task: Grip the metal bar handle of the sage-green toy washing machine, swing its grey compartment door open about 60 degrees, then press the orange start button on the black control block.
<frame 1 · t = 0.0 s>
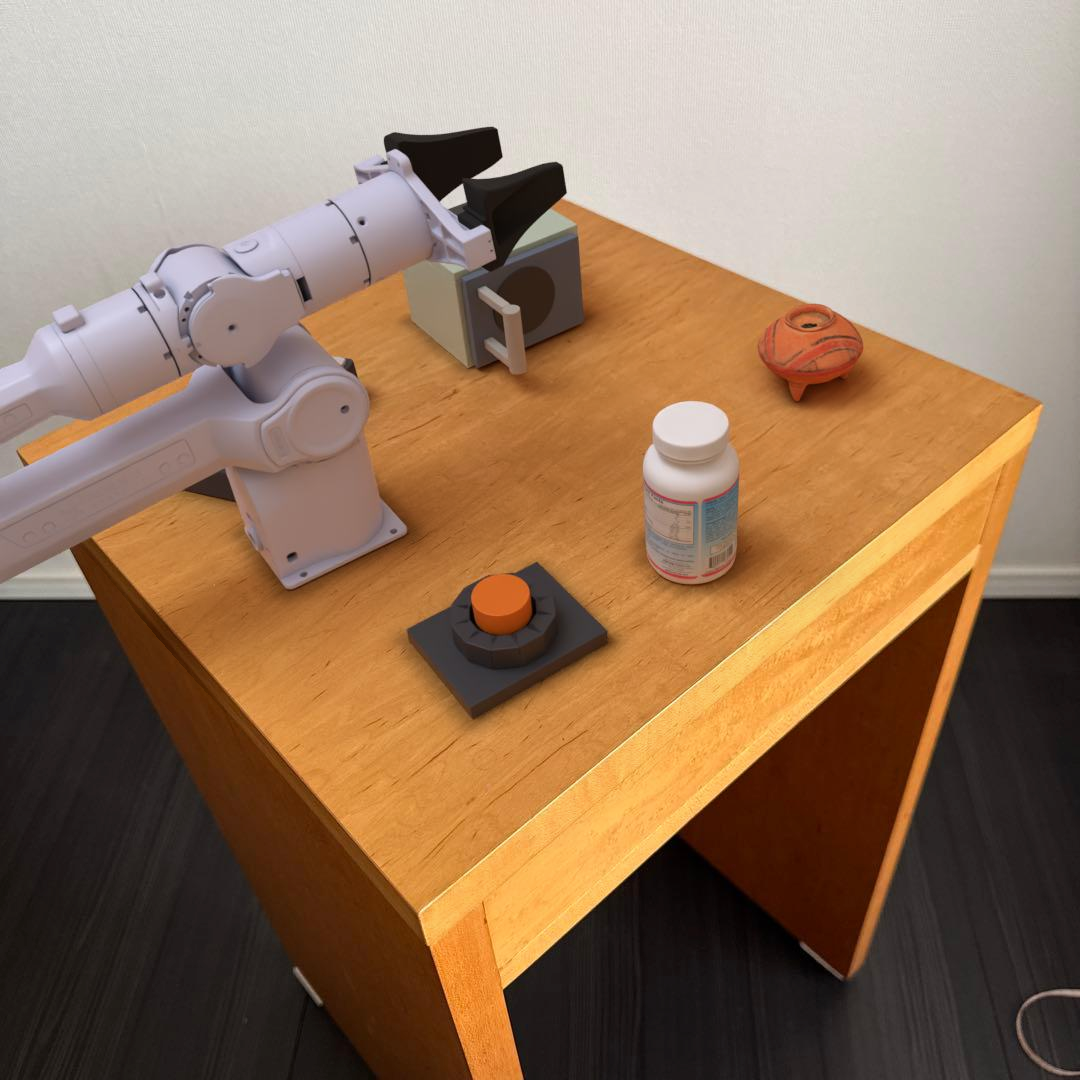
hand: (528, 159, 73), 22 cm above the table, tool horizontal, fingers open, 7 cm apart
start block: (507, 642, 71), on the table
washer: (496, 319, 100), on the table
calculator: (260, 440, 90), on the table
start button: (501, 604, 69), point 3 cm above the table, slide at 0.1 cm
pot: (806, 383, 89), on the table
washer door: (542, 313, 92), point 4 cm above the table, hinge at 0.0°
pill bottle: (690, 558, 76), on the table
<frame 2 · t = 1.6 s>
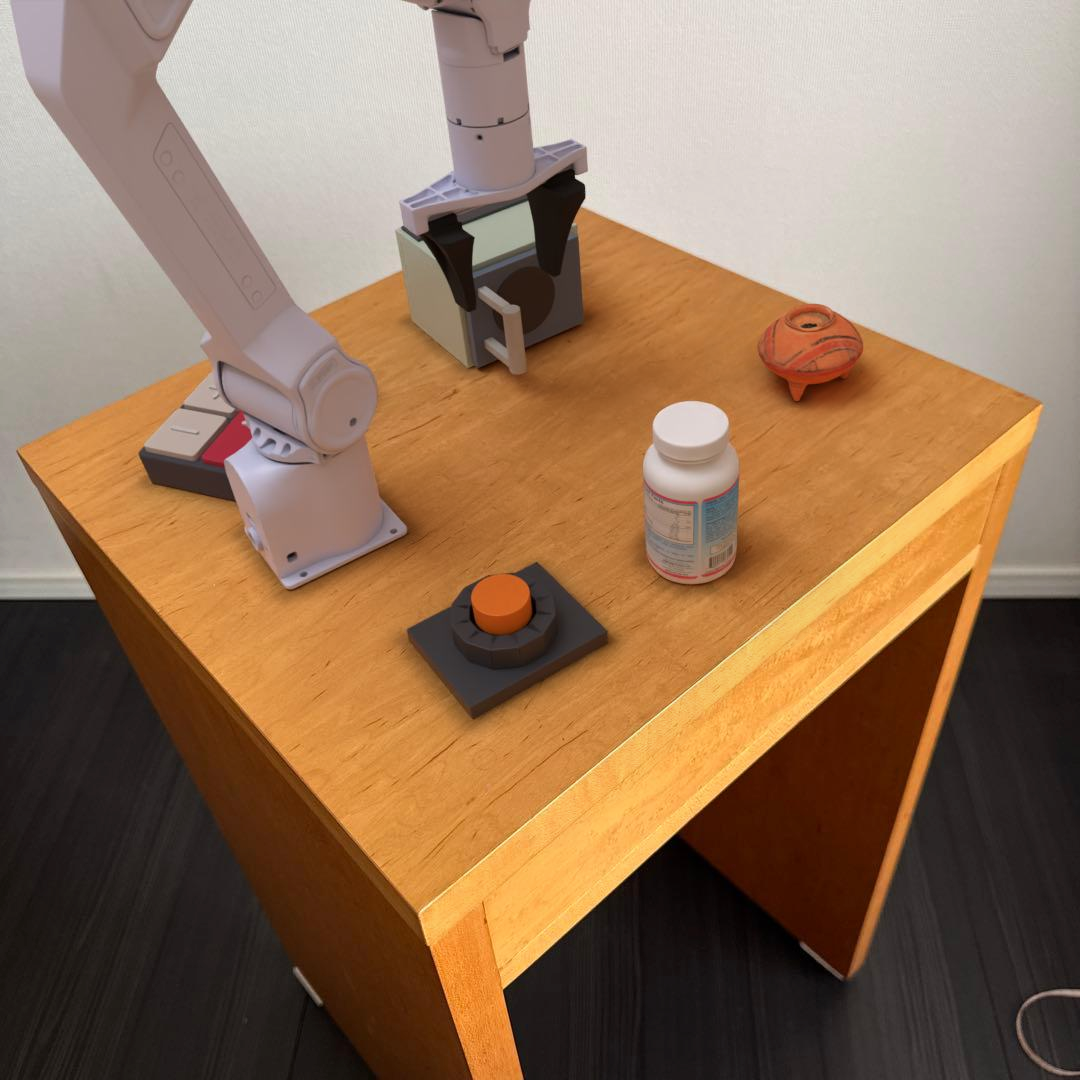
hand: (508, 288, 85), 9 cm above the table, tool pointing down, fingers open, 7 cm apart
nothing on the table moved.
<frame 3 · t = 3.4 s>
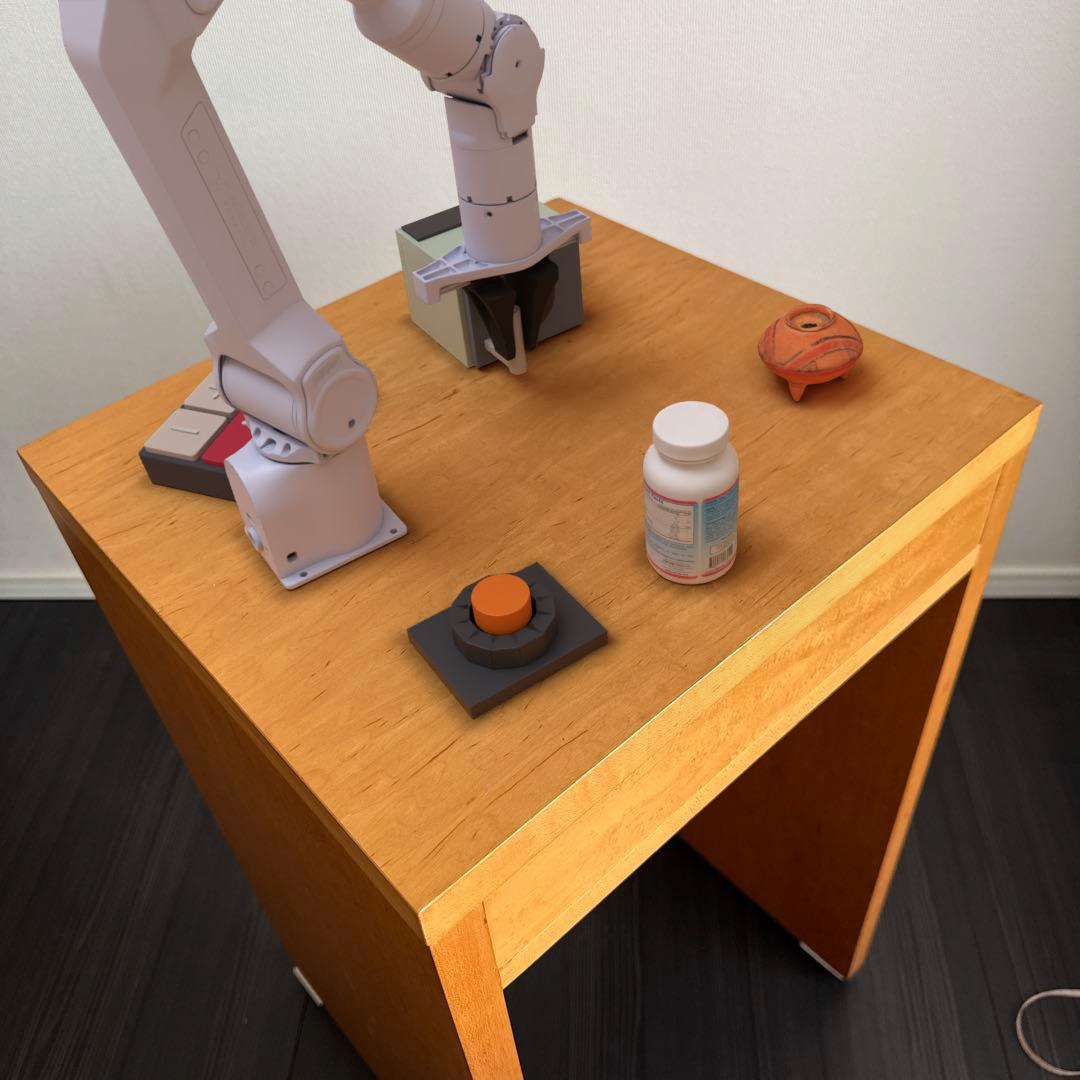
hand: (515, 349, 89), 4 cm above the table, tool pointing down, fingers closed on washer door
washer door: (542, 313, 92), point 4 cm above the table, hinge at 0.0°, touching gripper
everything else where it was.
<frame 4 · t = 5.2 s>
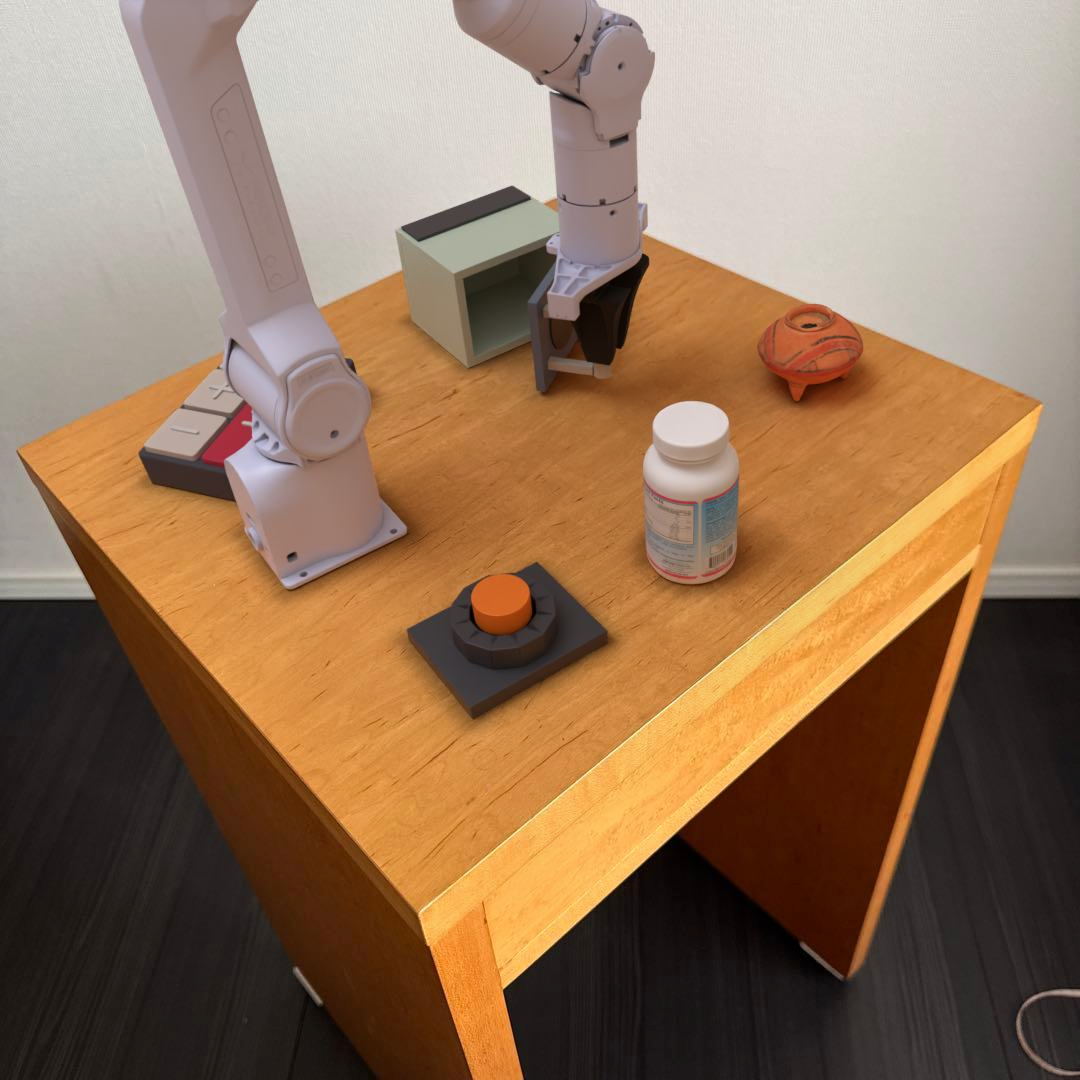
hand: (605, 353, 88), 4 cm above the table, tool pointing down, fingers closed
washer door: (590, 316, 91), point 5 cm above the table, hinge at 36.2°, touching gripper
everything else where it was.
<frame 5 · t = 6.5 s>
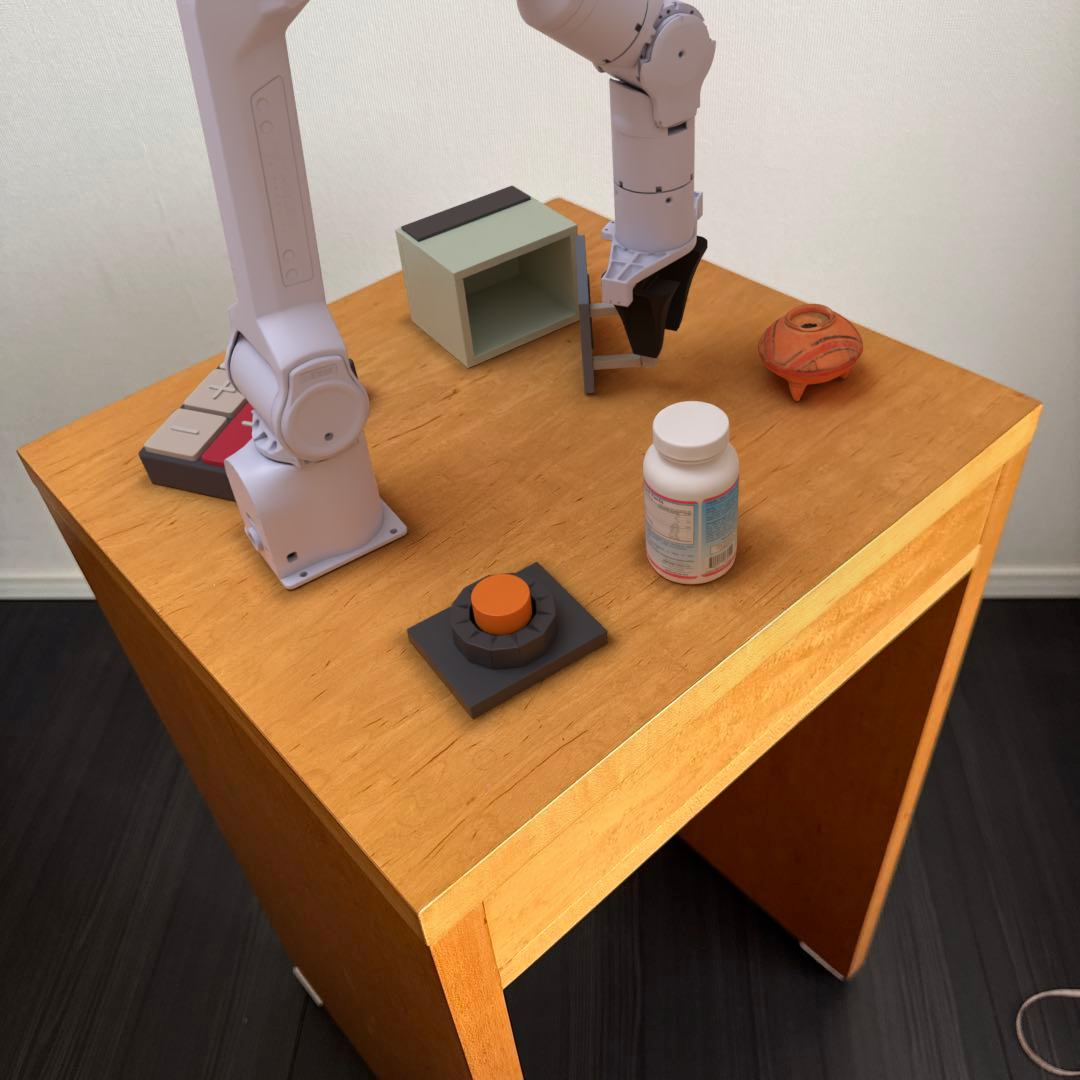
hand: (656, 340, 88), 4 cm above the table, tool pointing down, fingers open, 3 cm apart
washer door: (616, 310, 91), point 5 cm above the table, hinge at 56.4°
everything else where it was.
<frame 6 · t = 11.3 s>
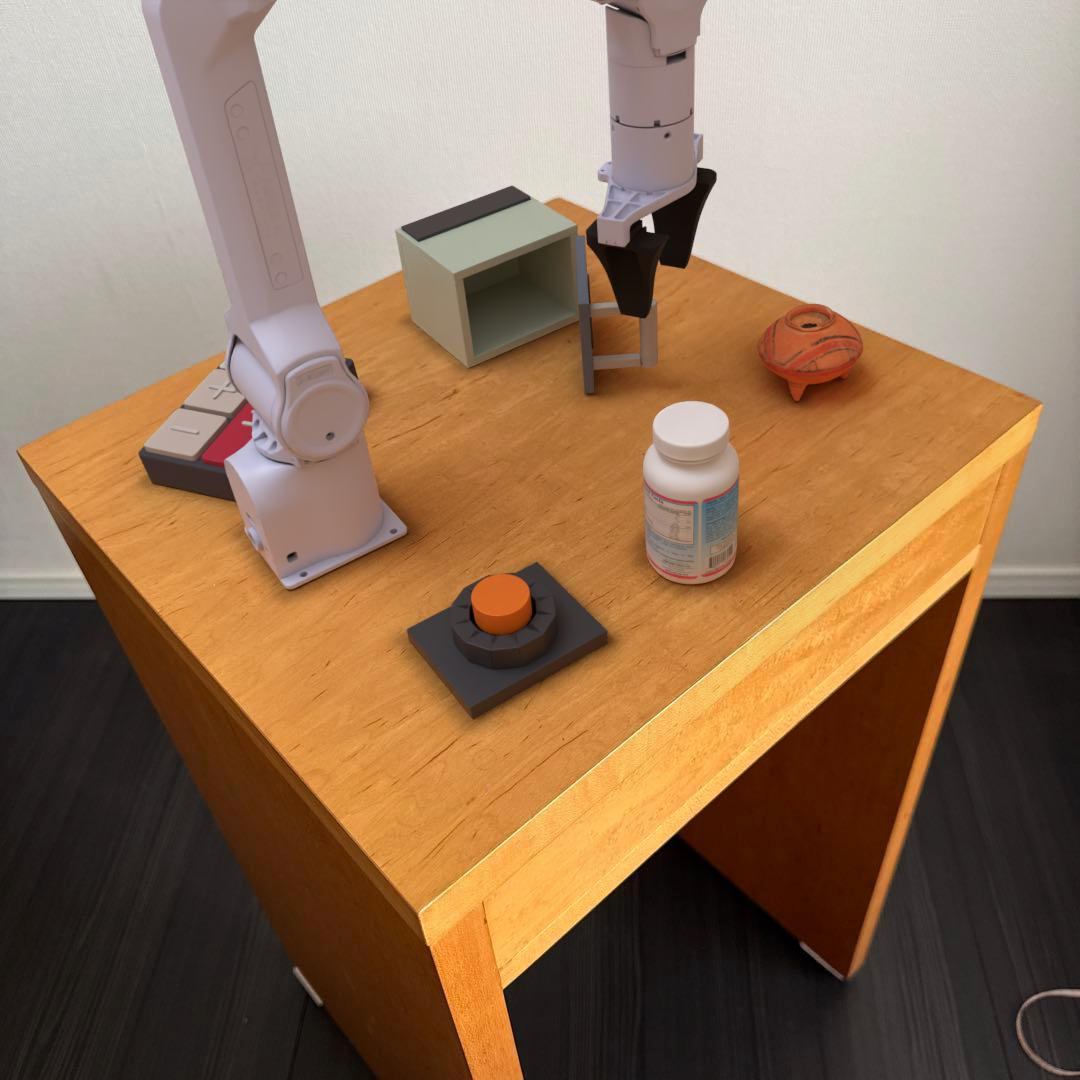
hand: (654, 289, 85), 9 cm above the table, tool pointing down, fingers open, 7 cm apart
nothing on the table moved.
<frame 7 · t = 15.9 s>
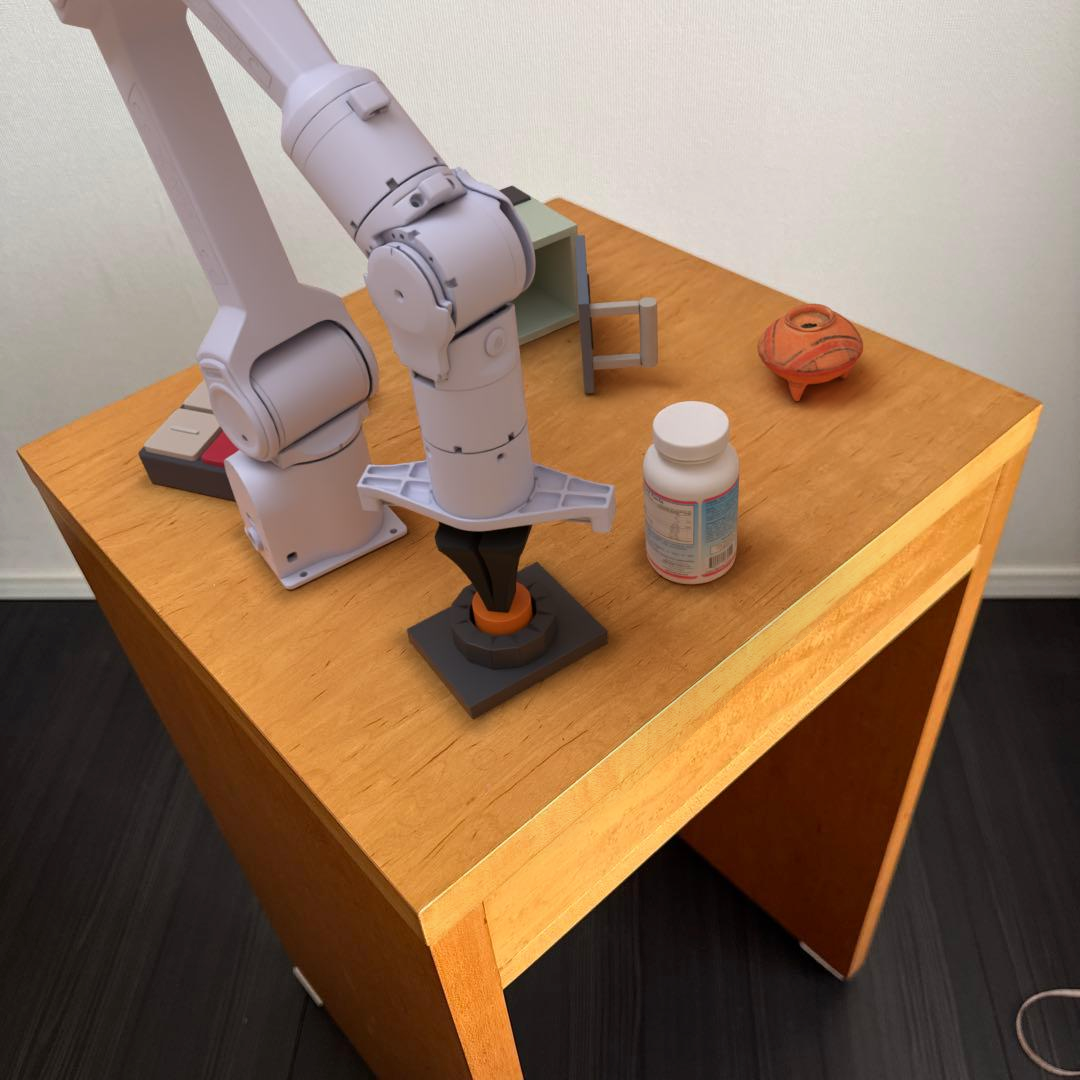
hand: (501, 600, 69), 4 cm above the table, tool pointing down, fingers closed, pressing on start button
start button: (502, 609, 69), point 3 cm above the table, slide at -0.4 cm, touching gripper
everything else where it was.
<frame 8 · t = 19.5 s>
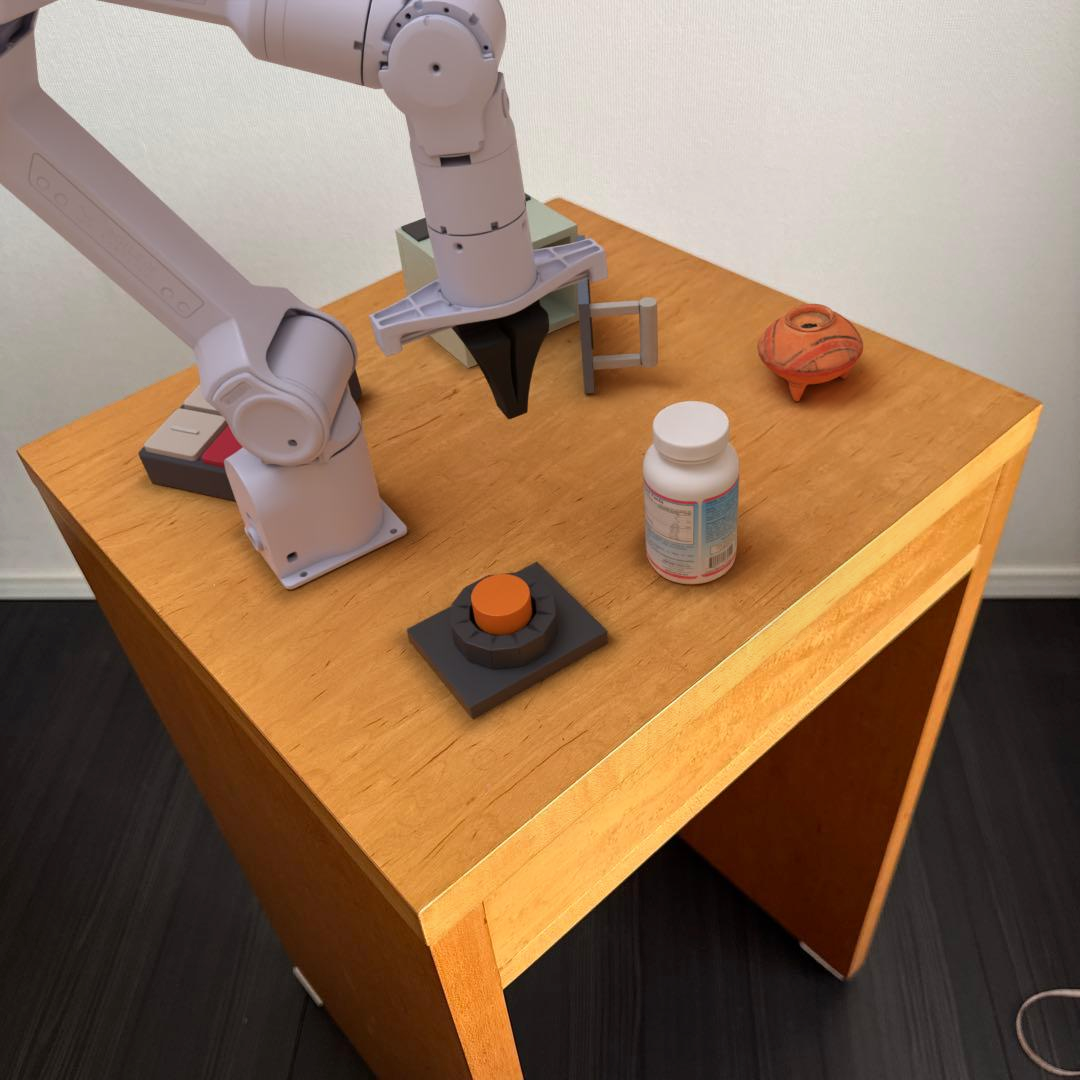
hand: (512, 408, 72), 10 cm above the table, tool pointing down, fingers closed
start button: (501, 604, 69), point 3 cm above the table, slide at 0.1 cm
everything else where it was.
at the end: washer door at +56° (first picture: +0°); start button pushed in 1.2 cm at the most during the clip, back to where it started at the end; start button slide at 0.1 cm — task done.
